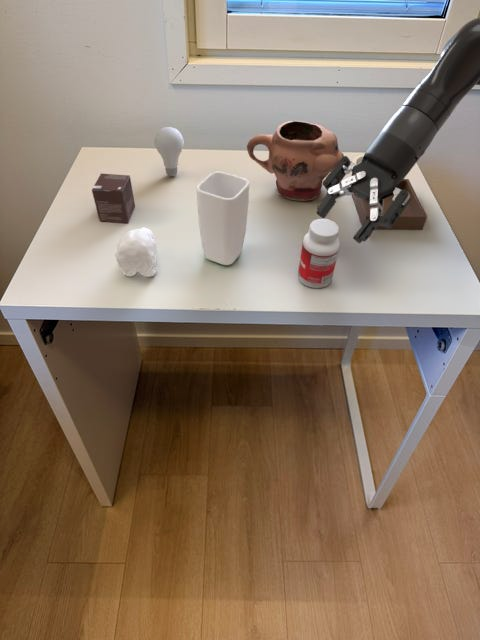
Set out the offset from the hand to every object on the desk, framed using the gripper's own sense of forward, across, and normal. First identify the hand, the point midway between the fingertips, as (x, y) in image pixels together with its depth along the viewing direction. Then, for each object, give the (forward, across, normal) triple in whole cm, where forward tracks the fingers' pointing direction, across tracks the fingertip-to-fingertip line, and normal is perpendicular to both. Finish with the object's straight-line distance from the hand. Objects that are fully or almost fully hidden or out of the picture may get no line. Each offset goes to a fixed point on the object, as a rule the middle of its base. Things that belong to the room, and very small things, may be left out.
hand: (337, 228), depth 78 cm
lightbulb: (+11, -44, +3) cm, 45 cm away
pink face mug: (-2, -24, +15) cm, 28 cm away
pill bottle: (+9, 0, +4) cm, 10 cm away
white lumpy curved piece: (+25, -21, -12) cm, 35 cm away
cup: (+16, -14, -3) cm, 22 cm away
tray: (-10, -7, +23) cm, 26 cm away
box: (+23, -38, -9) cm, 45 cm away
